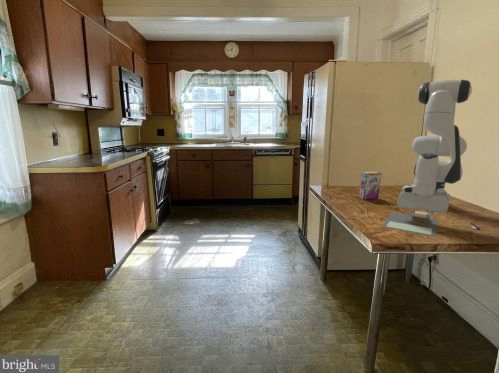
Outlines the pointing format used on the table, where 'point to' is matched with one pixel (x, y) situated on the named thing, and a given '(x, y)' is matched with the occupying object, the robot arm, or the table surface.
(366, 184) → the candy bar box
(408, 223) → the rubber mat
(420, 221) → the beige rectangular block
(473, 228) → the chocolate bar
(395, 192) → the table surface
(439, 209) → the robot arm
